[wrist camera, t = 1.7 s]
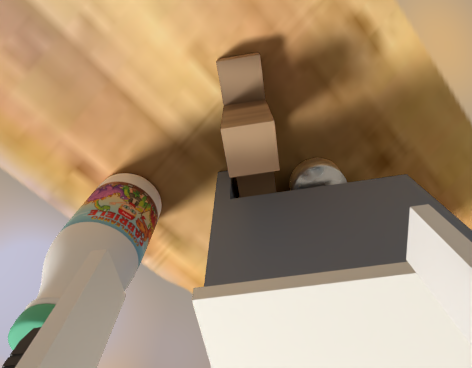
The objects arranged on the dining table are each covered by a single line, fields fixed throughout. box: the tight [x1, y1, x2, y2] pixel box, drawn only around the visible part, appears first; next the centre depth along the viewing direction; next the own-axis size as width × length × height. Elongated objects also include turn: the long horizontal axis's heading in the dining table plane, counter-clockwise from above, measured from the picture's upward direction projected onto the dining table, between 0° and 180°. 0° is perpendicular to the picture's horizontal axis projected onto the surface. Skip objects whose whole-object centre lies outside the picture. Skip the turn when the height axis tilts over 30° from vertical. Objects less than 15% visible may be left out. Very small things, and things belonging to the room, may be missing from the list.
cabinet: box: [192, 171, 472, 368], centre depth 31 cm, size 15×19×20 cm
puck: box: [289, 158, 347, 190], centre depth 37 cm, size 6×6×3 cm
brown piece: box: [216, 52, 280, 198], centre depth 32 cm, size 22×4×11 cm, turn 9°
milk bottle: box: [8, 173, 162, 350], centre depth 30 cm, size 8×8×20 cm
